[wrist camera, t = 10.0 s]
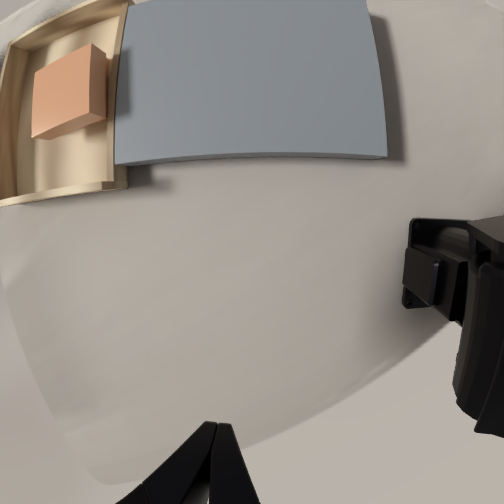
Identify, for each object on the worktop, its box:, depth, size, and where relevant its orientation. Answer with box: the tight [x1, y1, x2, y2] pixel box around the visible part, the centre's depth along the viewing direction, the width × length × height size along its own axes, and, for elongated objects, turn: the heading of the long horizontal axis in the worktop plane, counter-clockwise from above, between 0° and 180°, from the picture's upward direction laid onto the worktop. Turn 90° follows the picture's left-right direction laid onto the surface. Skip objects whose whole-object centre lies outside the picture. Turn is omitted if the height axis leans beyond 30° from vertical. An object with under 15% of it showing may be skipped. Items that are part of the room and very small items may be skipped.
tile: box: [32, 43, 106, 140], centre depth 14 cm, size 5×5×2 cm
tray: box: [0, 0, 135, 207], centre depth 15 cm, size 12×15×4 cm
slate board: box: [115, 0, 387, 166], centre depth 15 cm, size 16×12×2 cm
